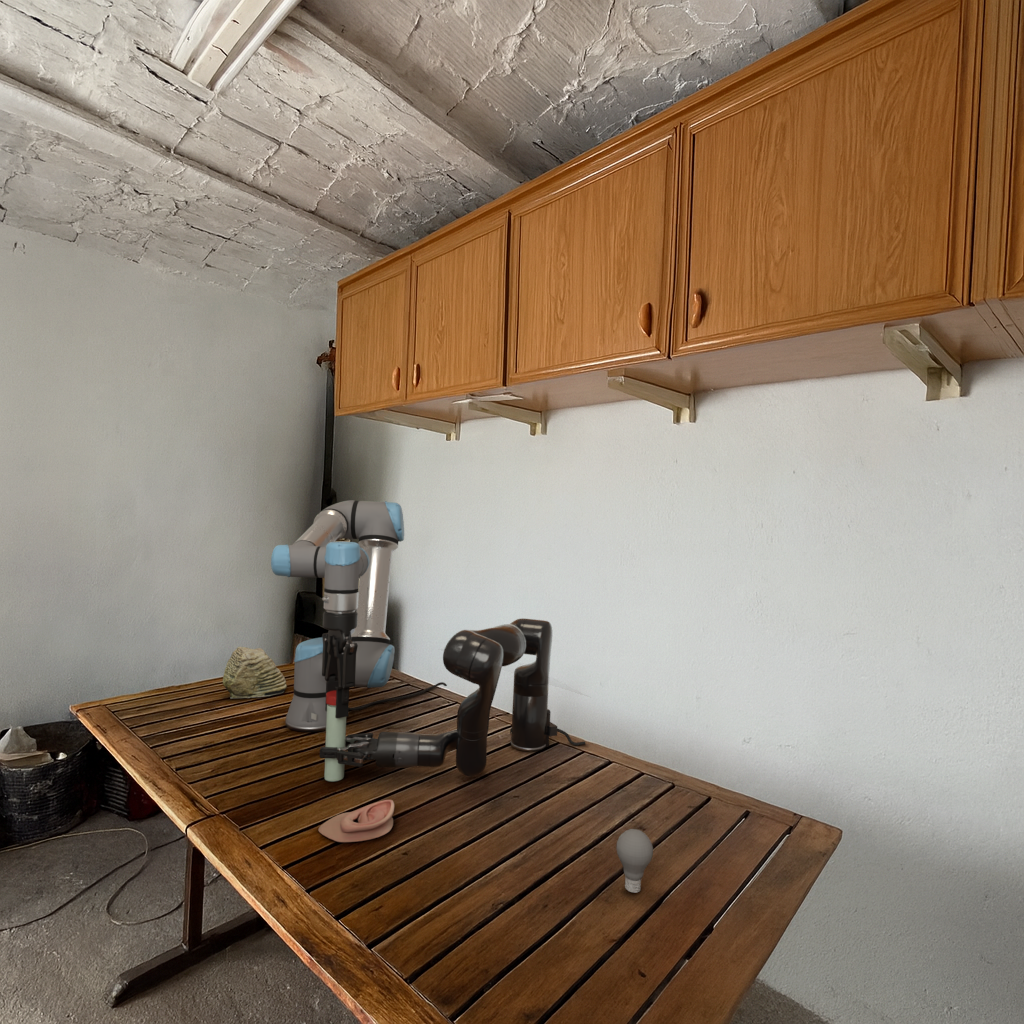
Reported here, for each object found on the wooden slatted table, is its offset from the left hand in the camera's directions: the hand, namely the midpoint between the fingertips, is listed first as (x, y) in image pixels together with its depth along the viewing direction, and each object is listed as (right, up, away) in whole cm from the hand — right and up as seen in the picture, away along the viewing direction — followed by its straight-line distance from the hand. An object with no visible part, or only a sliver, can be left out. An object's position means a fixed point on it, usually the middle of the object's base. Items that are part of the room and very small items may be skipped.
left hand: (336, 713), depth 143 cm
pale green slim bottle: (-1, -15, 0) cm, 15 cm away
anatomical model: (+10, -15, -21) cm, 28 cm away
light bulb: (+60, -18, -37) cm, 73 cm away
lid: (0, +4, 0) cm, 4 cm away
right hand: (-3, -8, 0) cm, 8 cm away
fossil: (-41, -12, +55) cm, 70 cm away
